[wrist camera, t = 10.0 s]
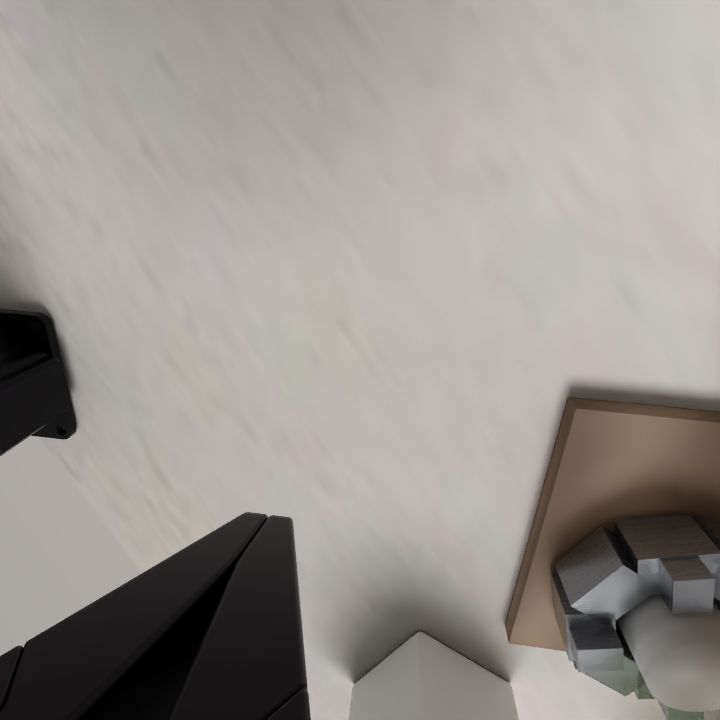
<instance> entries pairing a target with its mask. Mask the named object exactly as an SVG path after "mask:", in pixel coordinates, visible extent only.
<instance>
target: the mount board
mask: <svg viewBox="0 0 720 720" xmlns="http://www.w3.org/2000/svg"><path fill="white" fill-rule="evenodd" d="M686 513H689V514H690V515H691V517H692V518H693V519H694V520H695V521H697V520H698V519H699V518H701V517H702V516H703V517H705V518H706V519H708V520H709V521H711V522H713V523H714V524H716V525H717V526H719V527H720V412H713V411H703V410H692V409H682V408H672V407H661V406H651V405H641V404H631V403H620V402H610V401H600V400H590V399H579V398H569V397H568V400H567V403H566V407H565V411H564V414H563V418H562V421H561V425H560V429H559V432H558V436H557V440H556V443H555V447H554V451H553V454H552V458H551V461H550V465H549V469H548V472H547V476H546V480H545V483H544V487H543V490H542V494H541V498H540V501H539V505H538V509H537V512H536V516H535V520H534V523H533V527H532V530H531V534H530V538H529V541H528V545H527V549H526V552H525V556H524V559H523V563H522V567H521V570H520V574H519V578H518V581H517V585H516V588H515V592H514V596H513V599H512V603H511V607H510V610H509V614H508V618H507V621H506V625H505V627H506V632H507V636H508V641H509V643H511V644H518V645H525V646H533V647H540V648H547V649H554V650H561V651H566V649H565V646H564V643H563V639H562V636H561V633H560V630H559V627H558V624H557V621H556V618H555V612H554V601H553V591H552V580H551V573H558V571H557V568H556V566H555V564H556V563H557V562H558V561H560V560H561V559H562V558H563V557H564V556H566V555H567V554H568V553H569V552H570V551H572V550H573V549H574V548H575V547H576V546H578V545H579V544H580V543H581V542H582V541H583V540H585V539H586V538H587V537H588V536H589V535H591V534H592V533H593V532H594V531H595V530H597V529H598V528H599V527H600V526H603V527H605V528H606V529H608V530H609V531H611V532H613V533H614V534H615V526H614V520H623V519H634V518H644V517H655V516H665V515H676V514H686ZM617 623H618V625H619V627H620V629H621V631H622V633H623V635H624V638H625V640H626V642H627V644H628V646H629V648H630V650H631V653H632V655H633V657H634V659H635V661H636V663H637V666H638V668H639V670H640V672H641V674H642V676H643V678H644V681H645V683H646V685H647V687H648V689H649V691H650V693H651V694H652V696H653V697H654V698H655V699H656V700H658V701H659V702H661V703H662V704H664V705H666V706H668V707H671V708H674V709H677V710H682V711H689V712H708V711H715V710H720V610H719V609H718V607H717V606H716V604H715V603H714V602H713V611H712V613H698V614H681V615H672V613H671V612H670V610H669V608H668V607H667V605H666V603H665V602H664V600H663V598H662V597H661V595H660V594H657V595H650V596H649V597H648V598H646V599H645V600H643V601H642V602H641V603H639V604H638V605H636V606H635V607H634V608H632V609H631V610H629V611H628V612H627V613H625V614H624V615H622V616H621V617H620V618H618V619H617Z"/></svg>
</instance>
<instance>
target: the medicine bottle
mask: <svg viewBox="0 0 720 720" xmlns="http://www.w3.org/2000/svg"><path fill="white" fill-rule="evenodd" d="M349 720H518V715H517V710H516V705H515V700H514V695H513V690H512V687H511V685H510V684H509V683H508V682H506V681H505V680H503V679H501V678H499V677H498V676H496V675H494V674H493V673H491V672H489V671H488V670H486V669H484V668H482V667H481V666H479V665H477V664H476V663H474V662H472V661H471V660H469V659H467V658H465V657H464V656H462V655H460V654H459V653H457V652H455V651H454V650H452V649H450V648H448V647H447V646H445V645H443V644H442V643H440V642H438V641H437V640H435V639H433V638H431V637H430V636H428V635H426V634H425V633H423V632H417V633H416V634H415V635H413V636H412V637H411V638H410V639H409V640H407V641H406V642H405V643H404V644H402V645H401V646H400V647H399V648H398V649H396V650H395V651H394V652H393V653H392V654H390V655H389V656H388V657H387V658H385V659H384V660H383V661H382V662H381V663H379V664H378V665H377V666H376V667H375V668H373V669H372V670H371V671H370V672H368V673H367V674H366V675H365V676H364V677H362V678H361V679H360V680H359V681H358V682H356V683H355V684H354V686H353V688H352V697H351V705H350V714H349Z"/></svg>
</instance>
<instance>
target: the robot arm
mask: <svg viewBox="0 0 720 720" xmlns="http://www.w3.org/2000/svg"><path fill="white" fill-rule="evenodd" d="M37 322H38V323H39V324H40V326H41V328H40V327H39V326H38V324H37ZM63 428H64V429H63ZM75 432H76V425H75V420H74V416H73V411H72V407H71V403H70V398H69V394H68V390H67V385H66V381H65V377H64V372H63V368H62V364H61V359H60V355H59V351H58V346H57V342H56V337H55V333H54V329H53V324H52V322H51V320H50V319H49V317H48V316H46V315H45V314H42V313H37V312H26V311H15V310H4V309H0V456H1V455H3V454H4V453H5V452H7V451H9V450H10V449H12V448H13V447H14V446H16V445H17V444H19V443H20V442H22V441H23V440H25V439H26V438H28V437H29V436H39V437H48V438H56V439H68V438H69V437H71V436H72V435H73V434H75ZM0 720H311V718H310V707H309V695H308V692H307V677H306V666H305V655H304V643H303V632H302V620H301V609H300V598H299V586H298V575H297V563H296V552H295V541H294V529H293V520H292V519H291V518H290V517H283V516H275V515H272V516H269V517H268V516H267V515H265V514H259V513H251V512H246V513H244V514H242V515H240V516H238V517H236V518H235V519H233V520H231V521H230V522H228V523H226V524H225V525H223V526H221V527H220V528H218V529H216V530H215V531H213V532H211V533H209V534H208V535H206V536H204V537H203V538H201V539H199V540H198V541H196V542H194V543H193V544H191V545H189V546H187V547H186V548H184V549H182V550H181V551H179V552H177V553H176V554H174V555H172V556H171V557H169V558H167V559H166V560H164V561H162V562H160V563H159V564H157V565H155V566H154V567H152V568H150V569H149V570H147V571H145V572H144V573H142V574H140V575H139V576H137V577H135V578H133V579H132V580H130V581H128V582H127V583H125V584H123V585H122V586H120V587H118V588H117V589H115V590H113V591H112V592H110V593H108V594H106V595H105V596H103V597H101V598H100V599H98V600H96V601H95V602H93V603H91V604H90V605H88V606H86V607H85V608H83V609H81V610H79V611H78V612H76V613H74V614H73V615H71V616H69V617H68V618H66V619H64V620H63V621H61V622H59V623H57V624H56V625H54V626H52V627H51V628H49V629H48V630H46V631H44V632H42V633H40V634H39V635H37V636H35V637H34V638H32V639H30V640H29V641H27V642H26V644H25V646H24V648H23V647H22V646H17V647H15V648H13V649H11V650H10V651H8V652H7V653H5V654H3V655H1V656H0Z"/></svg>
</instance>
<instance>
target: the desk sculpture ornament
mask: <svg viewBox="0 0 720 720" xmlns="http://www.w3.org/2000/svg"><path fill="white" fill-rule="evenodd" d="M614 526H615V534H614V533H613V532H611V531H609V530H608V529H606V528H605V527H603V526H600V527H599V528H598V529H597V530H595V531H594V532H593V533H592V534H591V535H589V536H588V537H587V538H586V539H585V540H583V541H582V542H581V543H580V544H579V545H578V546H576V547H575V548H574V549H573V550H572V551H570V552H569V553H568V554H567V555H566V556H564V557H563V558H562V559H561V560H560V561H558V562H557V563H556V564H555V566H556V568H557V571H558V573H551V580H552V591H553V601H554V612H555V618H556V621H557V624H558V627H559V630H560V633H561V636H562V639H563V643H564V646H565V649H566V652H567V655H568V658H569V661H573V663H574V666H575V669H577V670H578V671H579V672H582V673H584V674H586V675H588V676H590V677H591V678H593V679H595V680H597V681H599V682H600V683H602V684H604V685H606V686H608V687H609V688H611V689H613V690H615V691H617V692H618V693H620V694H622V695H624V696H627V695H628V694H630V693H631V692H633V691H635V694H636V696H637V698H638V699H655V698H654V697H653V696H652V694H651V693H650V691H649V689H648V687H647V685H646V683H645V681H644V678H643V676H642V674H641V672H640V670H639V668H638V666H637V663H636V661H635V659H634V657H633V655H632V653H631V650H630V648H629V646H628V644H627V642H626V640H625V638H624V635H623V633H622V631H621V629H620V627H619V625H618V623H617V619H618V618H620V617H621V616H622V615H624V614H625V613H627V612H628V611H629V610H631V609H632V608H634V607H635V606H636V605H638V604H639V603H641V602H642V601H643V600H645V599H646V598H648V597H649V596H650V595H657V594H660V595H661V597H662V598H663V600H664V602H665V603H666V605H667V607H668V608H669V610H670V612H671V613H672V615H681V614H698V613H712V611H713V602H714V603H715V604H716V606H717V607H718V609H719V610H720V527H719V526H717V525H716V524H714V523H713V522H711V521H709V520H708V519H706V518H705V517H703V516H702V517H701V518H699V519H698V520H697V521H695V520H694V519H693V518H692V517H691V515H690V514H689V513H686V514H676V515H665V516H655V517H644V518H634V519H623V520H614ZM658 702H659V701H658ZM659 704H660V706H661V708H662V710H663V712H664V714H665V716H666V718H667V720H703V714H704V712H689V711H682V710H677V709H674V708H671V707H668V706H666V705H664V704H662V703H661V702H659Z"/></svg>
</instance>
